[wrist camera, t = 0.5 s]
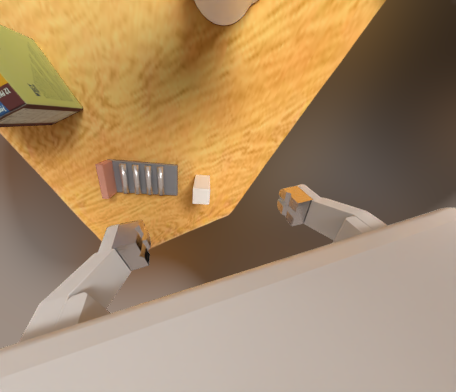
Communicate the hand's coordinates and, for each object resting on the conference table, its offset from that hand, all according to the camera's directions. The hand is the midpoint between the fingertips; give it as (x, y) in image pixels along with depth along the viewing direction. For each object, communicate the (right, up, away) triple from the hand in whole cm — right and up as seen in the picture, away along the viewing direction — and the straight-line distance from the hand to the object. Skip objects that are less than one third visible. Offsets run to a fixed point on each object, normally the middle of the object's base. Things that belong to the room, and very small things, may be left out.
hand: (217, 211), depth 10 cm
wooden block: (-8, +6, +46) cm, 47 cm away
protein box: (-45, +28, +32) cm, 62 cm away
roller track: (-26, +7, +43) cm, 51 cm away
